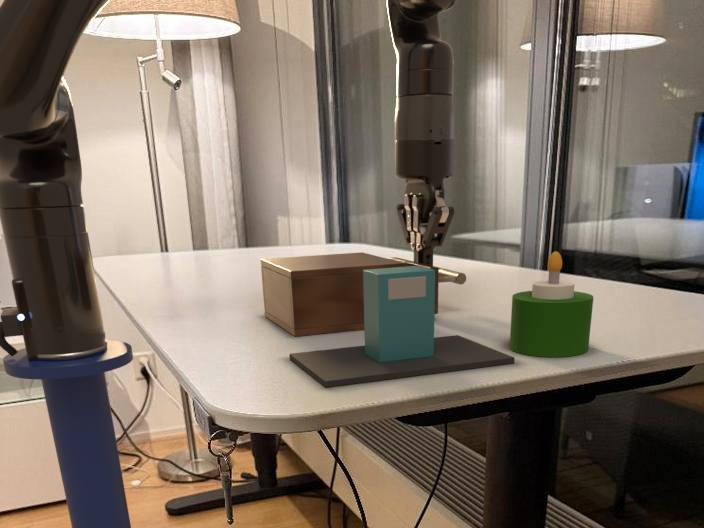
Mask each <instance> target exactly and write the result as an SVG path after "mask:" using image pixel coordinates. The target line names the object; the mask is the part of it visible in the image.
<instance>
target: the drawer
mask: <svg viewBox="0 0 704 528" xmlns="http://www.w3.org/2000/svg"><path fill="white" fill-rule="evenodd" d="M388 259H391V260H395V261H399V262H403V263H405V267H408V266H420V267H424V268H428V269H432V270H435V311H434V315H438V314H439V284H440V283H453V284H456V285H464V284H465V283H466V281H467V275H466V274H465V273H464V272H460V271H455V270H452V269H447V268H443V267H438V266H434V265H433V266H431V265H426V264H422V263H418V262H414V260H409V259H406V258H400V257H395V256H394V257H393V256H392V257H388Z"/></svg>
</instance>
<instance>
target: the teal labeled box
mask: <svg viewBox="0 0 704 528" xmlns="http://www.w3.org/2000/svg"><path fill="white" fill-rule="evenodd" d="M363 286H364V329H363V330H364V345H365V355H367V356H369V357H371V358H372V359H374V360H376V361H378V362H379V363H382V362H390V361H399V360H407V359H415V358H424V357H432V356H434V338H435V314H434V311H435V270H432V269H428V268H424V267H420V266H408V267H395V268H381V269H368V270H363Z"/></svg>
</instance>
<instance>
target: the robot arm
mask: <svg viewBox="0 0 704 528" xmlns="http://www.w3.org/2000/svg"><path fill="white" fill-rule="evenodd" d="M109 1H110V0H3V1H2V2H1V4H0V224H1V230H2V234H3V235H2V236H3V239H4V244H5V248H6V253H7V258H8V264H9V267H10V272H11V277H12V279H11V286H12V291H13V295H14V301H15V304H16V308H5V309H4V308H3V309H2V312H1V314H0V320H1V321H0V348H1V349H2V350H4V351H5V352H6V353H7V354H10V355H11V356H14V355H15V354H16V353H18V351H17V350H18V349H16V348H15V347H14V346H13V345H12V344H10V343H9V342H8V341H7V340H6V338H9V337H21V336H22V338H23V342H24V348H26V352H27V357H28V361H29V362H31V361H67V360H76V359H82V358H87V357H92V356H96V355H99V354H101V353H104V352H105V351H107V350H108V345H107V341H106V340H107V338H106V332H105V327H104V321H103V315H102V309H101V302H100V298H99V297H100V296H99V292H98V290H99V289H98V285H97V279H96V273H95V267H94V262H93V255H92V250H91V244H90V243H91V242H90V237H89V232H88V231H89V230H88V226H87V225H88V224H87V220H86V219H87V218H86V213H85V207H84V201H83V196H82V182H83V170H82V168H83V167H82V160H81V153H80V146H79V145H80V144H79V138H78V131H77V125H76V117H75V111H74V106H73V102H72V98H71V97H72V96H71V93H70V90H69V87H68V85H67V83H66V80H65V79H64V75H65V73H66V71H67V68H68V65H69V63H70V60H71V58H72V55H73V54H74V51H75V49H76V46H77V45H78V43H79V41H80V39H81V38H82V35H83V34H84V32H85V31H86V29H87V27H88V26H89V25H90V23H91V22H92V20H93V19H95V17H96V16H97V15H98V14H99V13H100V12H101V11H102V9H103V8H104V7H105V6H106V5H107V4H108V3H109ZM459 1H460V0H386V8H387V15H388V21H389V28H390V32H391V38H392V43H393V48H394V52H395V57H396V69H395V70H396V76H395V77H396V84H395V85H396V86H395V87H396V90H395V91H396V101H395V102H396V103H395V113H394V176H395V178H396V179H398V180H405V187H404V193H403V195H404V197H403V199H404V201H403V203H397V204H396V214H397V216H398V220H399V224H400V226H401V231H402V234H403V237H404V241H405V243H406V245H409V244H410V249H411V250H412V251H413V261H414V262H418V263H422V264H426V265H431V266H434V251H435V250H436V249H437V247H442V246H443V244H444V241H445V238H446V236H447V233H448V231H449V228H450V226H451V223H452V220H453V218H454V214H455V208H454V206H451V205H450V206H447V204H446V202H445V198H446V191H445V186H444V179H451V178H452V177H453V176H454V173H455V171H454V169H455V132H456V130H455V129H456V128H455V127H456V115H455V103H454V91H455V90H454V87H455V86H454V85H455V84H454V83H455V56H454V55H455V54H454V50H453V48H452V46H451V45H450V44H449V42H447V41H445V40H442V34H441V27H440V26H441V25H440V14H442V13H445V12H447V11H448V10H451V9H452V8H453V7H455V6H456V5H457V4H458V2H459Z"/></svg>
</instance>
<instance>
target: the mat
mask: <svg viewBox="0 0 704 528" xmlns="http://www.w3.org/2000/svg"><path fill="white" fill-rule="evenodd" d="M289 360H290V361H291V362H293V363H294V364H295V365H297V366H298V367H299V368H301V369H302V370H303V371H305V373H307V374H308V376H310V377H312V378H313V379H314V380H316V381H317V382H318V383H319V384H321V385H322V386H323V387H325V388H332V387H338V386H341V387H342V386H348V385H355V384H364V383H370V382H371V383H372V382H379V381H386V380H394V379H401V378H402V379H403V378H409V377H417V376H426V375H433V374H440V373H448V372H456V371H464V370H472V369H473V370H474V369H478V368H487V367H488V368H489V367H497V366H503V365H510V364H511V365H512V364H515V356H512V355H509V354H507V353H504V352H502V351H499V350H496V349H494V348H491V347H489V346H486V345H484V344H481V343H479V342H476V341H473V340H471V339H469V338H466V337H463V336H461V335H458V334H453V335H445V336H438V337H434V356H432V357H424V358H415V359H407V360H399V361H390V362H382V363H379V362H378V361H376V360H374V359H372V358H371V357H369V356H367V355H365V344H364V345H355V346H348V347H338V348H337V347H336V348H329V349H328V348H327V349H319V350H312V351H311V350H310V351H301V352H293V353H292V352H291V353H289Z"/></svg>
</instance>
